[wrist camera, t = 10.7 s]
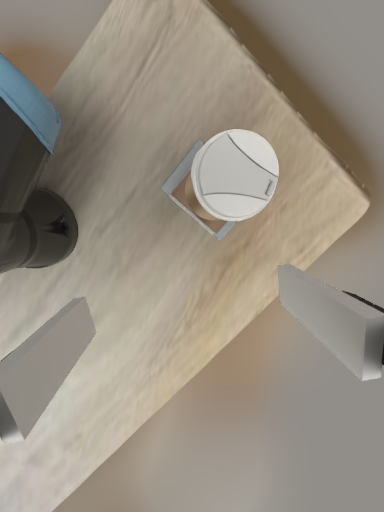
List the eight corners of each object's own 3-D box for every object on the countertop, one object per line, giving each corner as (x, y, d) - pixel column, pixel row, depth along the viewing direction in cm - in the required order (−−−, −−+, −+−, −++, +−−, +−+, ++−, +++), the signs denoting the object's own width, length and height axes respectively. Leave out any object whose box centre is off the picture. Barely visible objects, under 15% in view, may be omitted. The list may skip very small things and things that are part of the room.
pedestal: (172, 195, 37) (171, 193, 32) (208, 151, 36) (212, 142, 31) (212, 230, 39) (216, 233, 34) (248, 189, 37) (257, 187, 32)
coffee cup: (247, 174, 32) (301, 145, 17) (227, 223, 34) (261, 234, 19) (198, 154, 31) (211, 105, 16) (180, 205, 33) (178, 202, 18)
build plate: (160, 189, 38) (160, 189, 37) (199, 140, 36) (200, 138, 35) (218, 240, 41) (219, 241, 39) (257, 196, 39) (259, 196, 38)
